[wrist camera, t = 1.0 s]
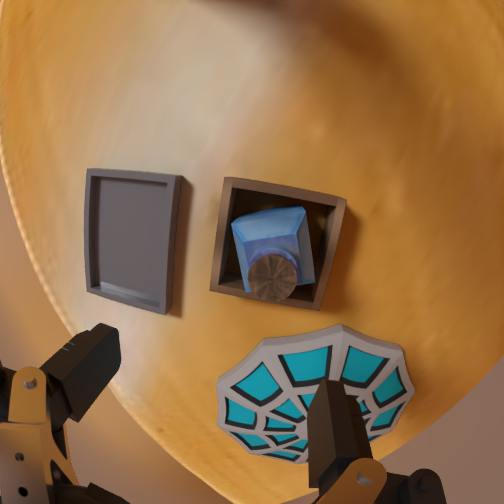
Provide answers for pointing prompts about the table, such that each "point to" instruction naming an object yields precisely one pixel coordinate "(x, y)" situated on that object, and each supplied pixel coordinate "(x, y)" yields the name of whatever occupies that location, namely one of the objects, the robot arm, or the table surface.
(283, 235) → the perfume bottle
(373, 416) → the decorative platform
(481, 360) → the table surface
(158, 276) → the tray
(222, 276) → the holder
